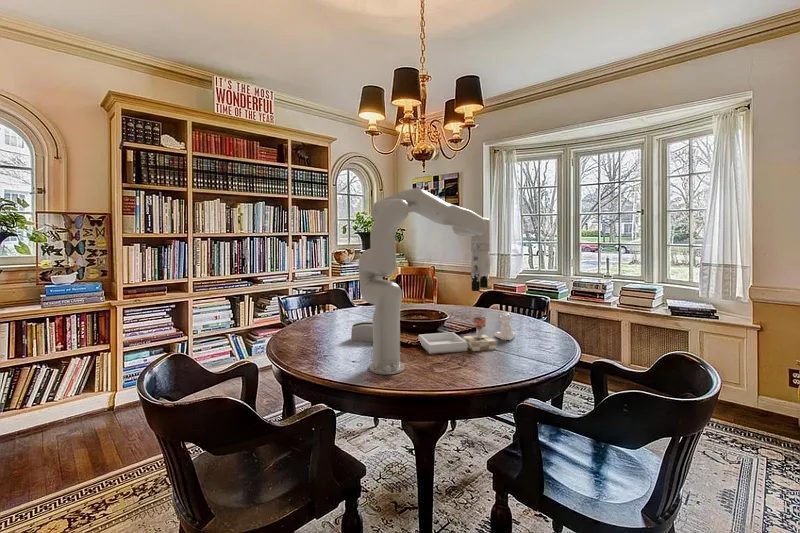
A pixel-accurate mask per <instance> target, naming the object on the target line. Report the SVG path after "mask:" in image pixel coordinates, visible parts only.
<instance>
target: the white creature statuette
mask: <svg viewBox="0 0 800 533" xmlns="http://www.w3.org/2000/svg"><path fill="white" fill-rule="evenodd" d="M513 317H514V316H513V315H511V314H510V313H508V312H503V313H502V315H500V316H499V319H500V321H501V322H502V324H501V326H500V331H496V332H494V337H495V338H496V339H497V338H498V339H499V338H500V339H499V340H502V341H506V340H509V341H512V340H513V339H514V338H515V337H516V332H514V331H513V327H512V324H511V320H512V319H513Z"/></svg>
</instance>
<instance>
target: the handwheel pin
mask: <svg viewBox="0 0 800 533" xmlns="http://www.w3.org/2000/svg"><path fill="white" fill-rule="evenodd" d="M472 319H473V320H472V322H473V324H472V325H473V327H476V329H475V330H476V331H475V332H476V340H482V335H483V328H484V327H486V317H485V316H483V317H482V316H481V317H480V316H476V317H473V318H472Z"/></svg>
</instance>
